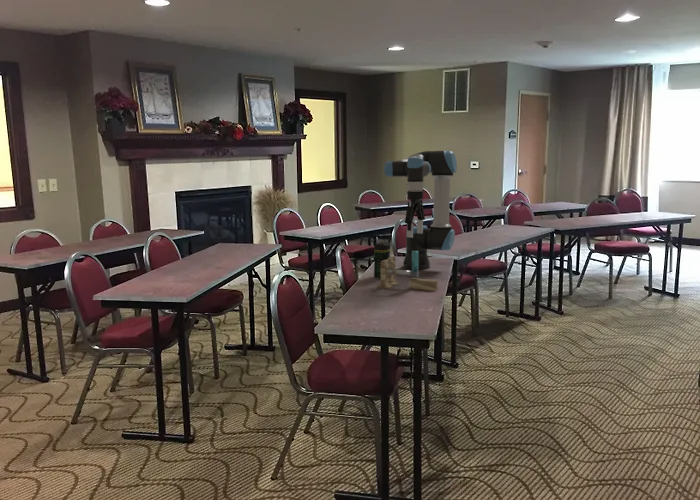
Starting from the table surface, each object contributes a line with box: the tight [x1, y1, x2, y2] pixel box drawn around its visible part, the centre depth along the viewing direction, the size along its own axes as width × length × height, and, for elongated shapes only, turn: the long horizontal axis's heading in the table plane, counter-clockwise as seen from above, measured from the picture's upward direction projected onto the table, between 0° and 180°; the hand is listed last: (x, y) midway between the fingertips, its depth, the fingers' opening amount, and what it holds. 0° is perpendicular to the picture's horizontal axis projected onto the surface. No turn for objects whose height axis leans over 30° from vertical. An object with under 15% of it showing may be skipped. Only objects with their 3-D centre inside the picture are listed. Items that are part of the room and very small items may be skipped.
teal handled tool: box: [388, 251, 420, 278], centre depth 282 cm, size 3×18×13 cm, turn 63°
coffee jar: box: [373, 241, 391, 279], centre depth 304 cm, size 10×8×19 cm
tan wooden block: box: [376, 256, 400, 290], centre depth 286 cm, size 14×6×13 cm, turn 153°
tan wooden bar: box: [409, 277, 439, 292], centre depth 279 cm, size 3×13×4 cm, turn 63°
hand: (415, 235), depth 277 cm, fingers open, 13 cm apart
